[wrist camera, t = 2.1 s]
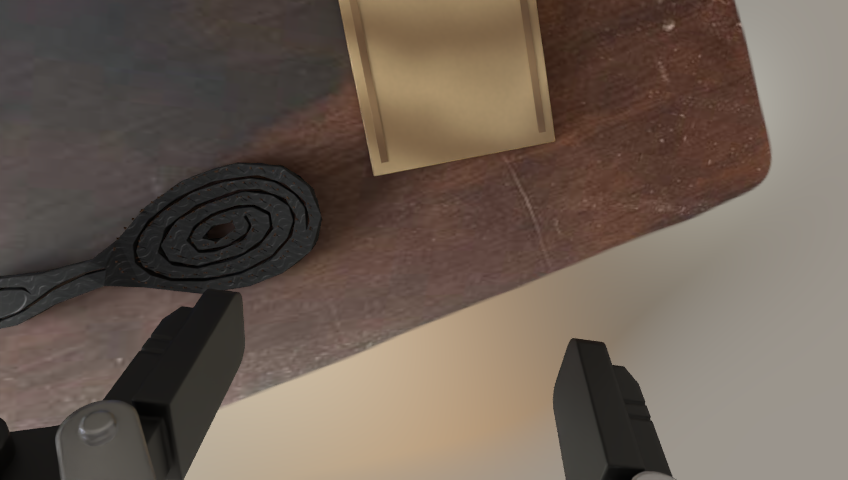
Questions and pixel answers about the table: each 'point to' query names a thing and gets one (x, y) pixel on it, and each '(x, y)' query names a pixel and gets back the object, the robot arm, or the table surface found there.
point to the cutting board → (447, 79)
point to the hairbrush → (188, 242)
